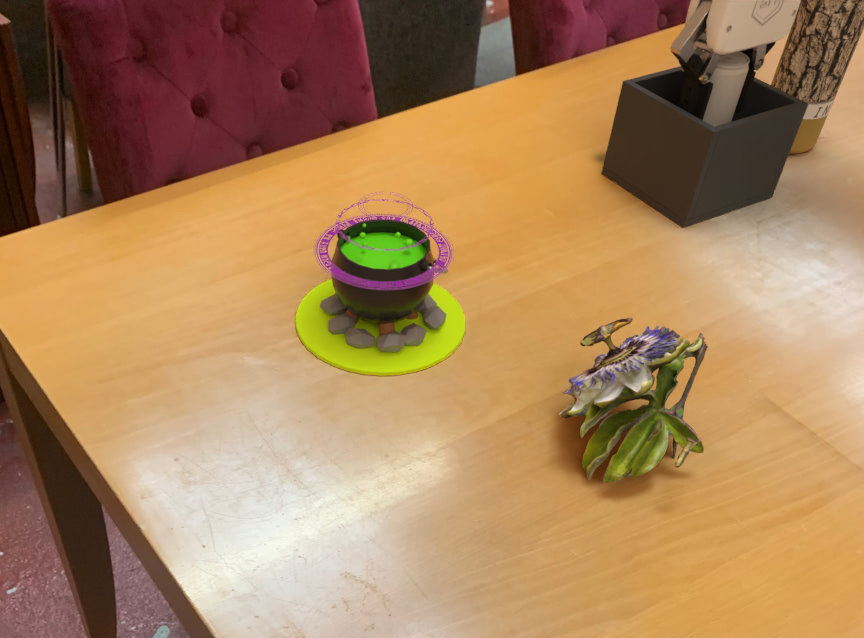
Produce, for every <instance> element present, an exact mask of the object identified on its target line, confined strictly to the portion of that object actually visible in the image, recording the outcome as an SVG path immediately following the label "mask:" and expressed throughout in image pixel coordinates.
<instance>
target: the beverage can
mask: <svg viewBox="0 0 864 638" xmlns="http://www.w3.org/2000/svg"><path fill="white" fill-rule="evenodd" d="M708 55H709V52H707V51H705V50H703V52H702V54H701V56H700V57H701V59H702V61H703V63H704V64H705V62H706V60H707V57H708ZM749 62H750V59H749V57H748V56H747V55H746V54H744V53H742V52H740V51H739V52H735V53H731V54H726V55H722V56H721V58H720V60H719V62H718V65H717V67H716V69H715V71H714V73H713V75H712V77H711V79H710V81H709V82H711V83H713V88H712V92H711V95H710V98H709V101H708V104H707V108H706V111H705V114H704V117H703V121H705V122H706V123H708V124H710V125H712V126H714V127H716V126H719V125H722V124H726V123H729V122H731V121H732V118H733V115H734V112H735V109H736V106H737V103H738V100H739V97H740V94H741V91H742V88H743V85H744V82H745V79H746V76H747V73H748V69H749V66H748V64H749Z"/></svg>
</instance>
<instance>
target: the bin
mask: <svg viewBox="0 0 864 638" xmlns="http://www.w3.org/2000/svg"><path fill="white" fill-rule="evenodd" d="M684 77H685V75H684V74H682V67H681V65H678V66H676V67H673V68H668V69H664V70H660V71H657V72H653V73H652V72H651V73H649V74H645V75H641V76H638V77H637V76H636V77H633V78H630V79H625V80H623V81H622V84H621V88H620V92H619V97H618V100H617V105H616V109H615V114H614V118H613V122H612V125H611V130H610V135H609V139H608V143H607V148H606V152H605V157H604V161H603V164H602V168H601V175H603V176H604V177H606V178H608V179H609V180H610V181H612V182H614V184H617V185H618V186H620V187H621V188H622V189H624V190H626V191H627V192H629V193H630V194H632V195H633V196H635V197H636V198H638V199H639V200H641V201H642V202H643V203H644V204H645V203H646V204H647V205H648V206H650V207H651V208H653V209H654V210H656V211H657V212H659V213H660V214H662V215H663V216H664V217H667V218H668V219H670V220H671V221H672V222H674V223H676V224H677V225H679V226H680V227H681V228H687V227H690V226H693V225H695V224H698V223H701V222H705V221H708V220H710V219H714V218H716V217H719V216H722V215H725V214H728V213H731V212H733V211H736V210H739V209H742V208H745V207H749V206H751V205H755V204H757V203H760V202H763V201H765V200H769V199H771V198H773V197H774V194H775V192H776V188H777V185H778V184H779V181H780V178H781V175H782V173H783V170H784V168H785V166H786V162H787V160H788V158H789V155H790V150H791V148H792V145H793V143H794V140H795V137H796V135H797V132H798V130H799V127H800V125H801V122H802V120H803V117H804V115H805V112H806V109H807V107H808V103H806V102H804V101H802V100H800V99H798V98H796V97H794V96H792V95H790V94H788V93H786V92H784V91H781V90H779V89H777V88H775V87H773V86H771V84H769V83H768V82H766V81H763V80H761V79H759V78H757V77H756V76H755V77H754V80H753V83H752V86H751V89H750V92H749V95H748V98H747V100H746V103H745V106H744V109H743V111H742V112H739V113H735V112H734V115H733V118H732V121H731V122H729V123H726V124H722V125H719V126H716V127H714V126H712V125H710V124H708V123H706V122H705V121H703V120H701V119H699V118H697V117H695V116H694V115H692V114H690V113H688V112H686V111H685V110H683V109H681V108H679V107H677V106H676V105H677V102H678V98H679V95H680V91H681V88H682V84H683V80H684Z"/></svg>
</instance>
